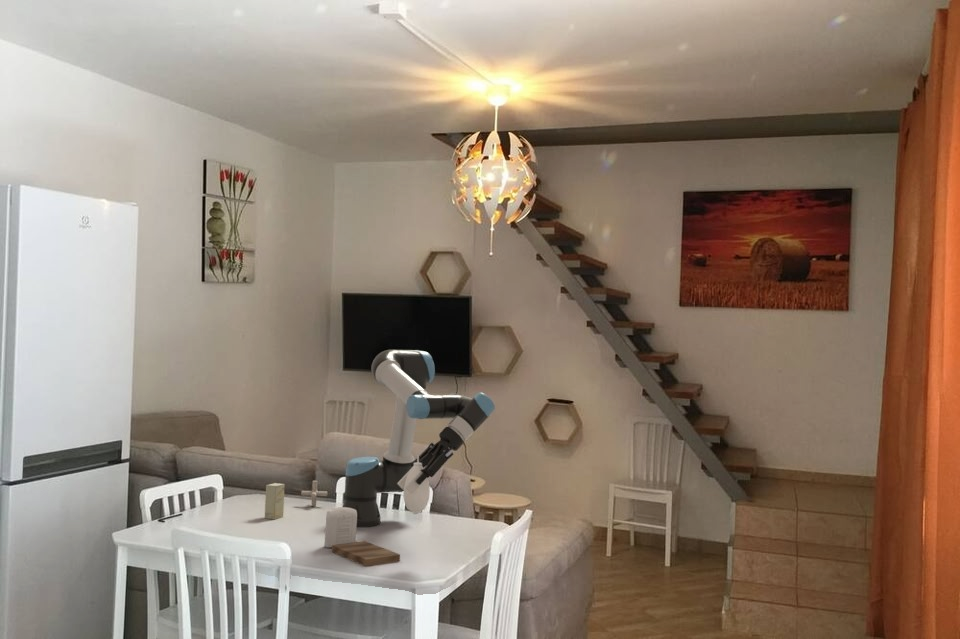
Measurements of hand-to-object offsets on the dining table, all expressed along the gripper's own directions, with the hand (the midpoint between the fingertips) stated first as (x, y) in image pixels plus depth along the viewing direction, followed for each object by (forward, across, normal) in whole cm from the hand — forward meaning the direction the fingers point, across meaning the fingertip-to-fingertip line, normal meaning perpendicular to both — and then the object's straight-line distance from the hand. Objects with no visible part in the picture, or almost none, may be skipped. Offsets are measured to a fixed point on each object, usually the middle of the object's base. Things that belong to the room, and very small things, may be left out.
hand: (404, 488), depth 257 cm
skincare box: (+32, +72, 0) cm, 79 cm away
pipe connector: (+18, +89, -14) cm, 92 cm away
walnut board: (+21, +10, -10) cm, 25 cm away
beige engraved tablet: (+24, +24, -8) cm, 35 cm away
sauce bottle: (+3, 0, -8) cm, 9 cm away
